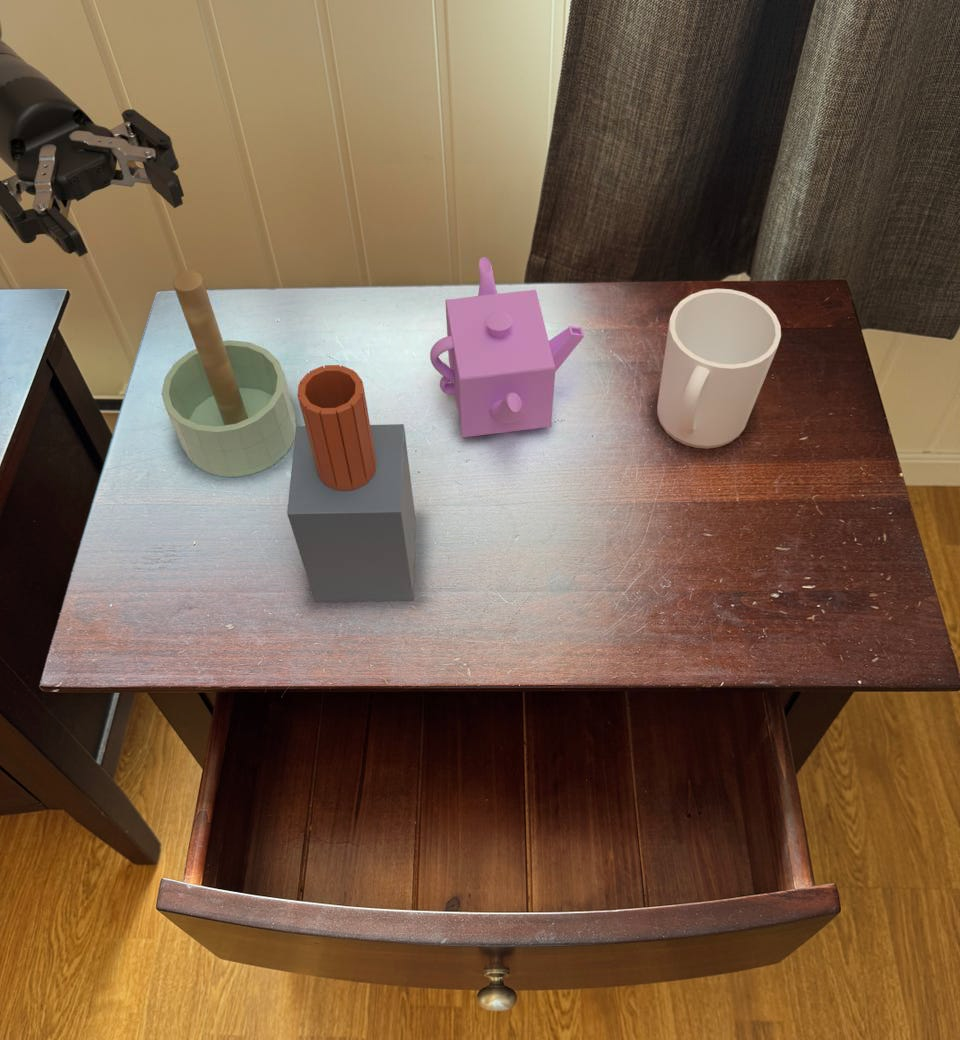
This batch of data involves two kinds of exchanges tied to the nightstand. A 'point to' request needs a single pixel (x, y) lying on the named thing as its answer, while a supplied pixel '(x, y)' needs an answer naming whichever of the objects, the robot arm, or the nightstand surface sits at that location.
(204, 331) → the stick
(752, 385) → the mug
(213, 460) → the bowl
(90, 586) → the nightstand surface
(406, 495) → the holder
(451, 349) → the teapot
